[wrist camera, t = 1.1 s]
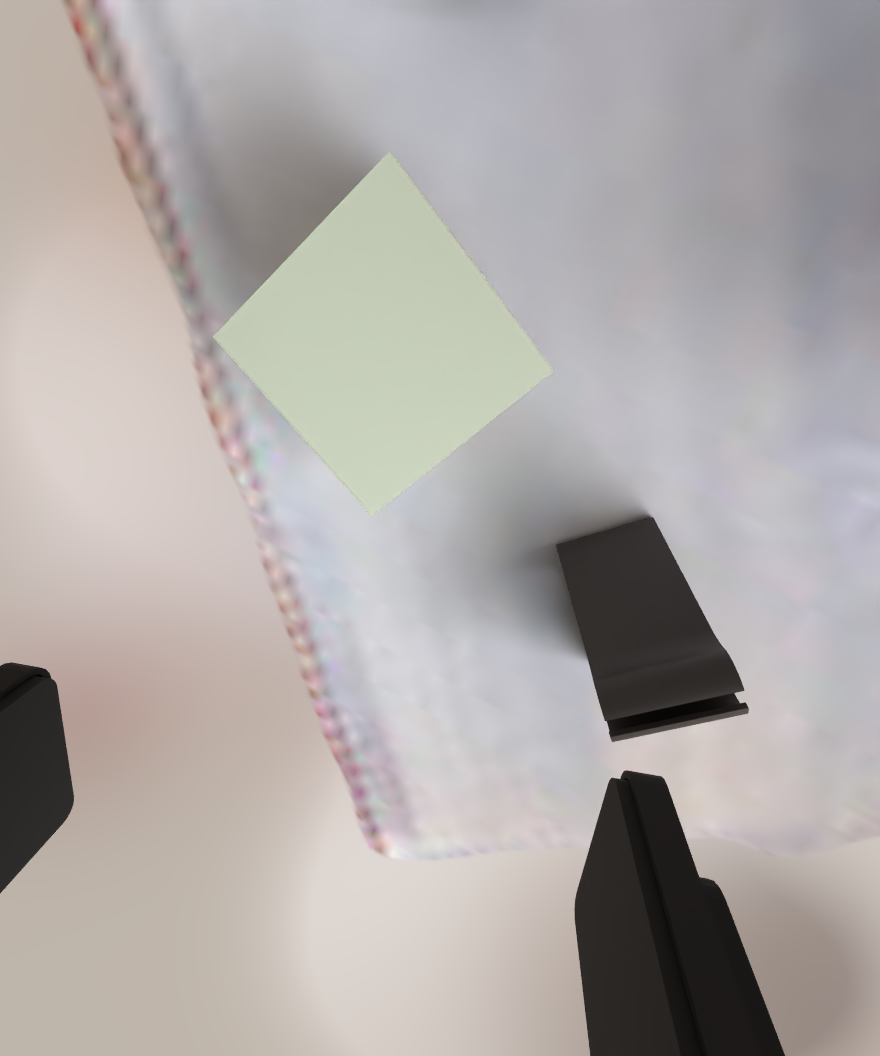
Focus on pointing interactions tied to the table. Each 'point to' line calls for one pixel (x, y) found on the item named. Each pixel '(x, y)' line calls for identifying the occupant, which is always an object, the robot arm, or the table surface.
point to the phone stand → (646, 634)
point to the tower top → (382, 340)
